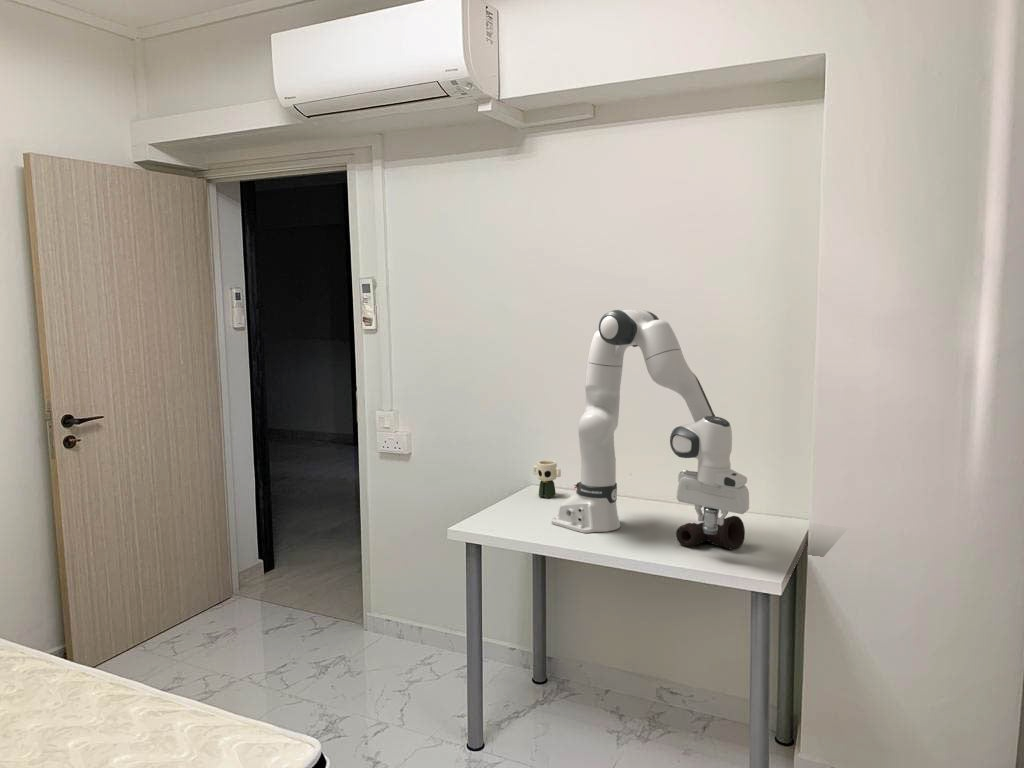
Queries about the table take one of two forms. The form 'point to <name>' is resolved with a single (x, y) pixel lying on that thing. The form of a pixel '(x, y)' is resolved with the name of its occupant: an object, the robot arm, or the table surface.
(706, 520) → the container
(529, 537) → the table surface
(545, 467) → the character mug
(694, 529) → the pipe
